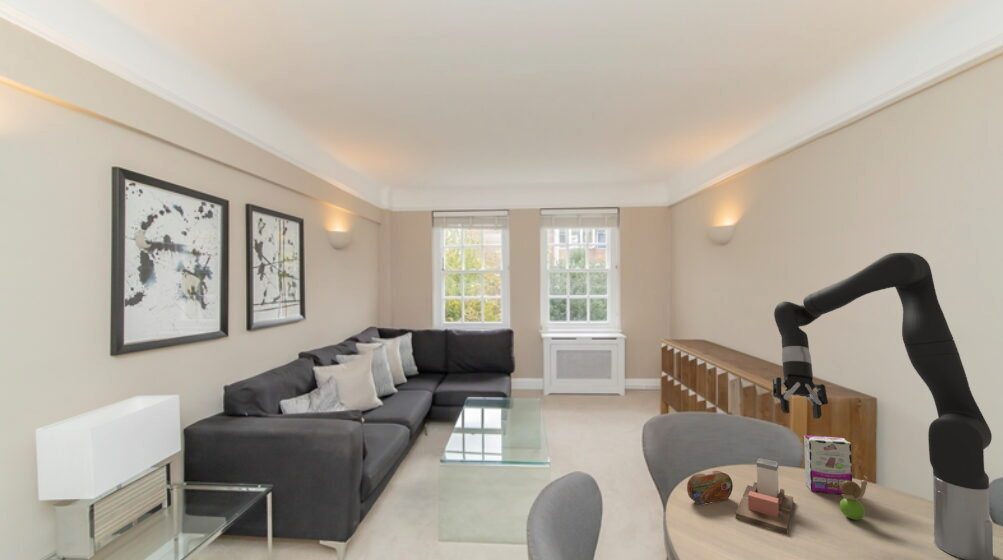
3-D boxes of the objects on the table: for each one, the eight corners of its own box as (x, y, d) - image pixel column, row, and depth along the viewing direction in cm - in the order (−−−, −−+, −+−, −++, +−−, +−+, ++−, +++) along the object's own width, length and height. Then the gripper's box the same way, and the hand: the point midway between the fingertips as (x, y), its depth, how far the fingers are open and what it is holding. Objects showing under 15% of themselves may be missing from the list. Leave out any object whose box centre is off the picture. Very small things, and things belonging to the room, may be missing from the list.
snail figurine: (874, 525, 112) (873, 481, 112) (847, 522, 114) (846, 479, 114) (861, 514, 118) (860, 472, 118) (835, 511, 119) (834, 470, 119)
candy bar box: (845, 488, 132) (844, 437, 132) (853, 496, 127) (852, 443, 127) (804, 484, 135) (803, 434, 135) (810, 491, 130) (809, 439, 130)
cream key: (778, 495, 125) (778, 462, 125) (777, 500, 122) (776, 467, 122) (759, 489, 129) (758, 457, 129) (757, 495, 125) (756, 462, 125)
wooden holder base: (793, 502, 125) (793, 490, 125) (787, 534, 109) (786, 521, 109) (747, 489, 132) (747, 478, 132) (735, 518, 117) (735, 505, 117)
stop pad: (778, 512, 117) (778, 498, 117) (777, 517, 114) (777, 503, 114) (750, 504, 121) (749, 490, 121) (748, 509, 119) (748, 495, 119)
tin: (692, 507, 123) (692, 478, 123) (685, 501, 126) (684, 474, 126) (733, 499, 127) (733, 471, 127) (725, 494, 130) (725, 467, 130)
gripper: (779, 356, 128) (783, 410, 122) (828, 364, 126) (835, 419, 120) (766, 361, 135) (769, 412, 129) (813, 369, 133) (819, 421, 127)
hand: (801, 415), depth 125 cm, fingers open, 8 cm apart
